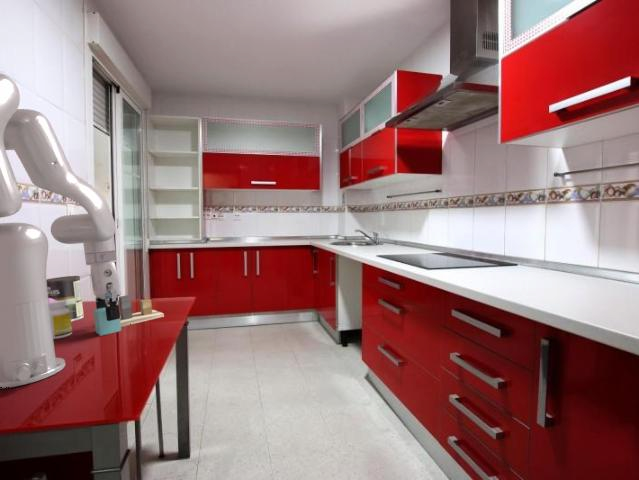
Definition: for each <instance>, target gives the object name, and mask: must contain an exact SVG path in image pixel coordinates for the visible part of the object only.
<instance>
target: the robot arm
mask: <svg viewBox="0 0 639 480" xmlns="http://www.w3.org/2000/svg"><path fill="white" fill-rule="evenodd" d="M20 95H21V94H20V91H19V87H18V85H17V84H16V82H15V81H14V80H13V79H12V78H10V77H9V76H7V74H5V73H1V72H0V219H1V218H7V217H11V216H12V215H15V214H17V213H18V212H19V211H20V210H21V209H22V206H23V196H22V193H21V191H20V187H19V185H18V181H17V179H16V177H15V173H14V170H13V168H12V165H11V162H10V159H9V156H8V154H7V151H14V152H15V153H16V156H17V157H18V159H19V160H20V163H21V164H22V167H23V168H24V170H25V172H26V174H27V176H28V177H29V180H30V181H31V183H32V184H33V185H34V186H35V187H37V188H40V189H42V190H44V191H48V192H51V193H53V194H57V195H59V196H62V197H66V198H69V199H70V200H72V201H73V202H75V203H77V204H79V206H81V207H82V208H83V209H84V210H85V211H86V212H87V213H80V214H79V213H78V214H69V215H62V216H59V217H57V218H56V219H54V220H53V222H52V223H51V225H50V234H51V236H52V237H53V239H54V240H55V241H57V242H59V243H61V244H65V245H73V244H75V245H76V244H83V251H84V259H85V265H86V266H90V271H89V272H90V276H91V286H92V291H93V295H94V296H95V307H96V309H100V308H105V309H106V317H107V321H112V320H116V319H119V318H120V316H121V315H120V305H119V297H120V296H121V294H122V293H121V292H122V291H121V286H120V281H119V274H118V269H117V266H116V263H117V262H118V259H117V252H116V244H115V236H114V235H115V234H116V222H115V219H114V216H113V213H112V212H111V209H110V206H109V204H108V202H107V200H106V199H105V198H104V196H103V195H102V194H101V192H99V191H98V190H97V189H95V187H93V186H92V185H91V184H90V183H88V182H87V181H86V180H84V179H83V178H81V177H79V176H78V175H77V174H76V173H75V172H74V171H73V169H72V167H71V165H70V163H69V161H68V158H67V156H66V154H65V152H64V150H63V148H62V145H61V144H60V141H59V139H58V137H57V135H56V132H55V131H54V128H53V126H52V124H51V122H50V121H49V119H48V118H47V116H46V115H44V114H43V113H42V112H39V111H37V110H34V109H29V108H27V109H26V108H19V106H20V101H21V96H20ZM48 254H49V240H48V237H47V236H46V234H45V231H43V230H42V229H41V228H39V227H38V226H36V225H33V224H32V223H31V224H30V223H25V222H0V387H2V388H1V389H9V388H15V387H20V386H24V385H29V384H32V383H35V382H40V381H42V380H44V379H46V378H49V377H51V376H53V375H55V374H57V373H59V372H61V371H62V370H63V369H64V368H65V367H66V360H65V359H64V358H63V357H62V358H61V357H56V353H55V344H54V339H53V333H52V325H51V316H50V308H49V300H48V291H47V281H46V279H47V262H48ZM6 387H7V388H6ZM8 387H9V388H8Z"/></svg>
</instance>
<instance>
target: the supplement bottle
mask: <svg viewBox="0 0 639 480" xmlns="http://www.w3.org/2000/svg"><path fill="white" fill-rule="evenodd" d="M65 306H66V301H56V302H51V303H49V308H50V316H51V325H52V333H53V340H57V339H58V340H59V339H62V338H63V339H64V338H66V337H69V336H71V335H72V334H73V326H72V322H71V318H70V310H69V309H68V308H65Z"/></svg>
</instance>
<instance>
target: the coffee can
mask: <svg viewBox="0 0 639 480" xmlns="http://www.w3.org/2000/svg"><path fill="white" fill-rule="evenodd" d="M46 281H47V291H48V298H52V299H54V300H56V301H66V306H65V308H68V309H69V310H70V318H71V323H72V322H76V321H79V320H81V319H83V318H84V317H85V316H84V309H83V307H84V306H83V296H82V286H81V276H79V275H70V276H69V275H68V276H60V277H58V276H57V277H52V278H46Z"/></svg>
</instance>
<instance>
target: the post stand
mask: <svg viewBox="0 0 639 480" xmlns="http://www.w3.org/2000/svg"><path fill="white" fill-rule="evenodd" d="M131 299H132V298H131V295H129V294H128V295H127V294H126V295H122V296H121V295H120V296H118V304H119V312H120V323H121V328H122V327H127V326H130V324H131V325H134V324H139V323H143V322H147V321H150V320H155V319H159V318H164V317H165V315H164V313H163V312H161V311H158V310H156V309H153V305H152V300H151V299H149V298H147V299H143V300H142V299H141V300H139V306H140V307H139V308H140V311H138V312H134V313H133V310H132V301H131Z"/></svg>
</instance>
